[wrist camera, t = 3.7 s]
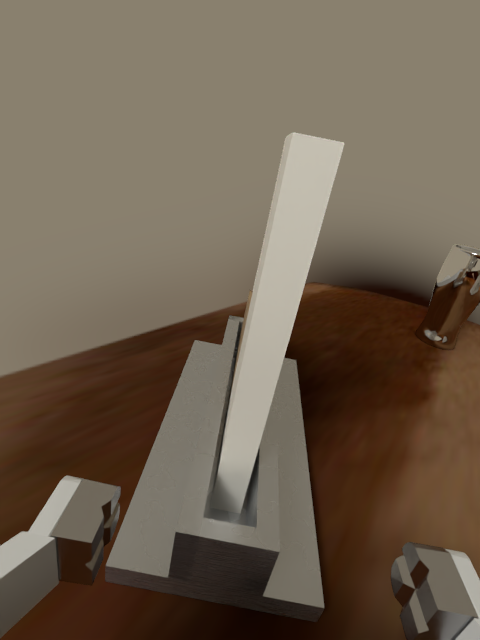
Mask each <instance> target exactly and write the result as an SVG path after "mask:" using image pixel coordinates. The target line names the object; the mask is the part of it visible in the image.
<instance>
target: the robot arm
mask: <svg viewBox="0 0 480 640" xmlns="http://www.w3.org/2000/svg"><path fill="white" fill-rule="evenodd" d="M119 496H120V487H119V486H115V485H110V484H105V483H100V482H96V481H91V480H86V479H82V478H77V477H72V476H67V475H66V476H65V477H64V478H63V479H62V480H61V481H60V482H59V484H58V486H57V487H56V489H55V490H54V492H53V493H52V495H51V497H50V498H49V500H48V501H47V503H46V505H45V506H44V508H43V509H42V511H41V512H40V514H39V516H38V517H37V519H36V520H35V522H34V523H33V525H32V527H31V528H30V530H29V531H28V532H24V531H22V532H20V533H19V534H17V535H16V536H14V537H13V538H11V539H10V540H8V541H7V542H5V543H4V544H2V545H1V546H0V638H1V637H2V636H3V635H4V634H5V633H6V632H7V631H8V630H9V629H10V628H12V627H13V626H14V625H15V624H16V623H17V622H18V621H19V620H20V619H21V618H22V617H23V616H24V615H25V614H26V613H28V612H29V611H30V610H31V609H32V608H33V607H34V606H35V605H36V604H37V603H38V602H39V601H40V600H41V599H42V598H44V597H45V596H46V595H47V594H48V593H49V592H50V591H51V590H52V589H53V588H54V587H55V586H56V585H57V584H58V583H59V581H65V582H71V583H77V584H84V585H90V586H92V585H93V582H94V580H95V577H96V575H97V573H98V570H99V568H100V565H101V563H102V561H103V548H104V546H106V545H107V544H108V543H109V542H110V541H111V538H112V536H113V533H114V531H115V527H116V524H117V521H118V516H119V510H120V505H119V504H118V502H117V501H118V499H119ZM402 551H403V554H404V555H403V556H400V557H398V558H396V559H395V561H394V563H393V565H392V570H391V583H392V588H393V592H394V596H395V598H396V599H397V600H398V601H399V603H400V604H401V605H402V607H403V608H402V611H401V614H400V618H401V621H402V625H403V629H404V632H405V636H406V639H407V640H480V580H479V578H478V575H477V573H476V571H475V569H474V567H473V565H472V563H471V561H470V559H469V557H468V556H467V555H466V554H465V553H463V552H460V551H455V550H449V549H444V548H441V547H435V546H430V545H424V544H418V543H413V542H409V543H406V544H405V545H404V547H403V548H402Z"/></svg>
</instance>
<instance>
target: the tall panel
mask: <svg viewBox="0 0 480 640" xmlns="http://www.w3.org/2000/svg"><path fill="white" fill-rule="evenodd" d="M343 147H344V143H343V142H338V141H333V140H329V139H324V138H318V137H314V136H309V135H304V134H299V133H294V132H293V133H291V134H290V135H288V136H287V137H286V139H285V143H284V148H283V152H282V157H281V162H280V166H279V171H278V176H277V180H276V185H275V190H274V194H273V199H272V204H271V208H270V213H269V218H268V223H267V227H266V232H265V236H264V241H263V246H262V250H261V255H260V260H259V264H258V269H257V274H256V278H255V283H254V288H253V292H252V297H251V302H250V306H249V311H248V316H247V320H246V325H245V330H244V334H243V339H242V344H241V348H240V353H239V358H238V362H237V367H236V372H235V377H234V381H233V386H232V391H231V395H230V400H229V405H228V409H227V414H226V419H225V423H224V429H223V435H222V441H221V447H220V453H219V459H218V464H217V470H216V476H215V482H214V488H213V494H212V500H211V505H210V508H214V509H219V510H224V511H229V512H235V513H241V509H242V506H243V502H244V498H245V495H246V491H247V488H248V484H249V481H250V477H251V474H252V470H253V466H254V463H255V459H256V456H257V452H258V449H259V445H260V442H261V438H262V435H263V431H264V427H265V424H266V420H267V417H268V413H269V410H270V406H271V403H272V399H273V395H274V392H275V388H276V385H277V381H278V378H279V374H280V371H281V367H282V363H283V360H284V356H285V353H286V349H287V346H288V342H289V339H290V335H291V331H292V328H293V324H294V321H295V317H296V314H297V310H298V307H299V303H300V299H301V296H302V292H303V289H304V285H305V282H306V278H307V274H308V271H309V267H310V264H311V260H312V256H313V253H314V250H315V246H316V243H317V239H318V235H319V232H320V228H321V225H322V221H323V218H324V214H325V211H326V207H327V203H328V200H329V196H330V193H331V189H332V186H333V182H334V179H335V175H336V171H337V168H338V164H339V161H340V157H341V154H342V150H343Z"/></svg>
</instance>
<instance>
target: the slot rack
mask: <svg viewBox="0 0 480 640" xmlns="http://www.w3.org/2000/svg"><path fill="white" fill-rule="evenodd" d="M243 320H244V318H240V317H235V316H229V320H228V324H227V328H226V332H225V336H224V340H223V344H222V345H217V344H212V343H207V342H202V341H197V340H195V342H194V344H193V347H192V349H191V352H190V354H189V357H188V359H187V362H186V364H185V367H184V369H183V372H182V374H181V377H180V379H179V382H178V385H177V387H176V390H175V392H174V395H173V397H172V400H171V402H170V405H169V407H168V410H167V412H166V415H165V417H164V420H163V422H162V425H161V427H160V430H159V432H158V435H157V437H156V440H155V443H154V445H153V448H152V450H151V453H150V455H149V458H148V460H147V463H146V465H145V468H144V470H143V473H142V475H141V478H140V480H139V483H138V485H137V488H136V490H135V493H134V496H133V498H132V501H131V503H130V506H129V508H128V511H127V513H126V516H125V518H124V521H123V523H122V526H121V528H120V531H119V533H118V536H117V538H116V541H115V543H114V546H113V549H112V551H111V554H110V556H109V559H108V561H107V564H106V574H105V581H107V582H112V583H117V584H122V585H127V586H132V587H138V588H143V589H148V590H153V591H158V592H163V593H169V594H174V595H179V596H184V597H189V598H194V599H200V600H205V601H210V602H215V603H220V604H225V605H231V606H236V607H241V608H246V609H251V610H256V611H261V612H267V613H272V614H277V615H282V616H287V617H292V618H298V619H303V620H308V621H313V622H317V621H318V619H319V617H320V616H321V614H322V612H323V610H324V599H323V591H322V582H321V573H320V564H319V556H318V547H317V538H316V529H315V521H314V512H313V503H312V494H311V486H310V477H309V468H308V459H307V451H306V442H305V433H304V424H303V416H302V407H301V398H300V389H299V381H298V372H297V363H296V360H292V359H287V358H284V360H283V363H282V367H281V371H280V374H279V378H278V381H277V385H276V388H275V392H274V395H273V399H272V403H271V406H270V410H269V413H268V417H267V420H266V424H265V427H264V431H263V435H262V438H261V442H260V445H259V449H258V452H257V456H256V459H255V463H254V466H253V470H252V474H251V477H250V481H249V484H248V488H247V491H246V495H245V498H244V502H243V506H242V509H241V513H235V512H229V511H224V510H219V509H214V508H210V505H211V500H212V494H213V488H214V482H215V476H216V470H217V464H218V459H219V453H220V447H221V441H222V435H223V429H224V423H225V417H226V411H227V406H228V400H229V394H230V388H231V383H232V377H233V371H234V365H235V359H236V354H237V349H238V344H239V339H240V335H241V330H242V325H243Z"/></svg>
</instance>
